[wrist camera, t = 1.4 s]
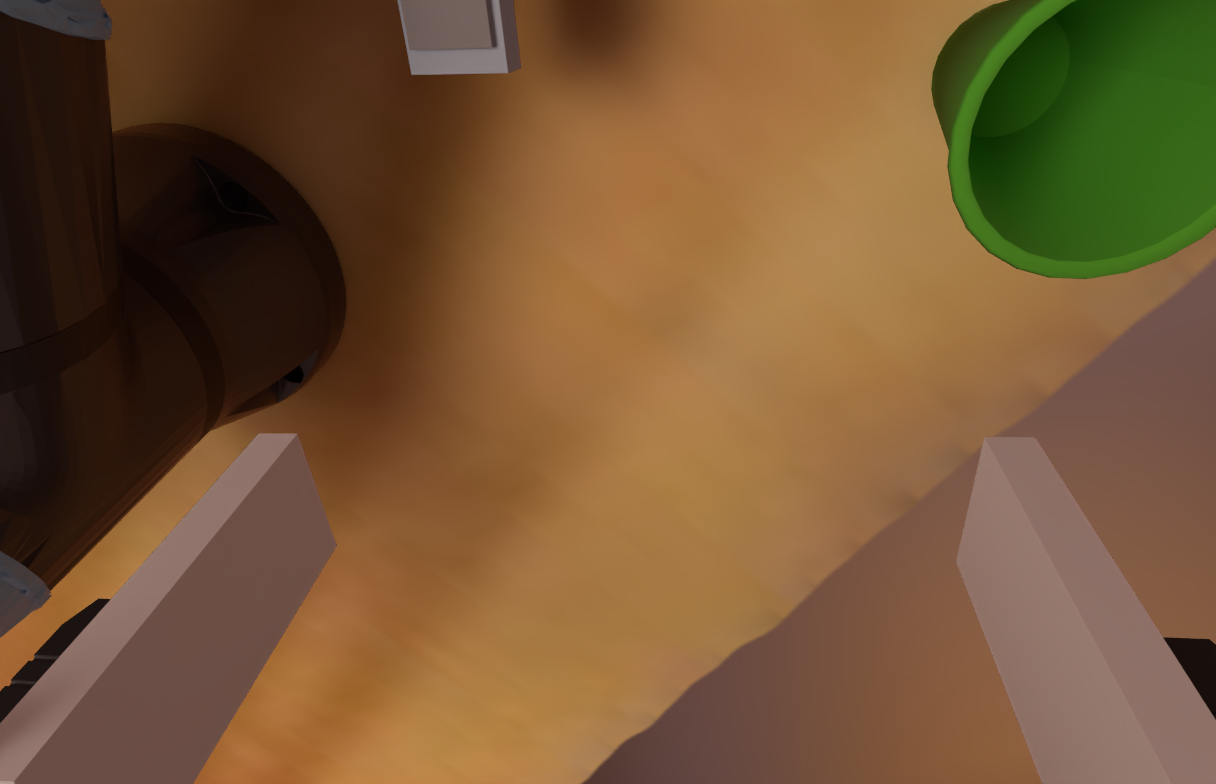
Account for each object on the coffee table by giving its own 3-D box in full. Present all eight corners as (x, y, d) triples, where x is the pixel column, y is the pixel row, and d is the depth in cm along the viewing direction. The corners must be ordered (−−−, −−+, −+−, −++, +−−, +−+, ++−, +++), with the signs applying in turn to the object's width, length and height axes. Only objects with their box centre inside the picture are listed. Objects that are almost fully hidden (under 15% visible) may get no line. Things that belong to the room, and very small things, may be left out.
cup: (873, -21, 29) (945, 3, 20) (1132, -89, 27) (1347, -98, 18) (887, 200, 34) (952, 304, 24) (1112, 156, 32) (1276, 251, 22)
